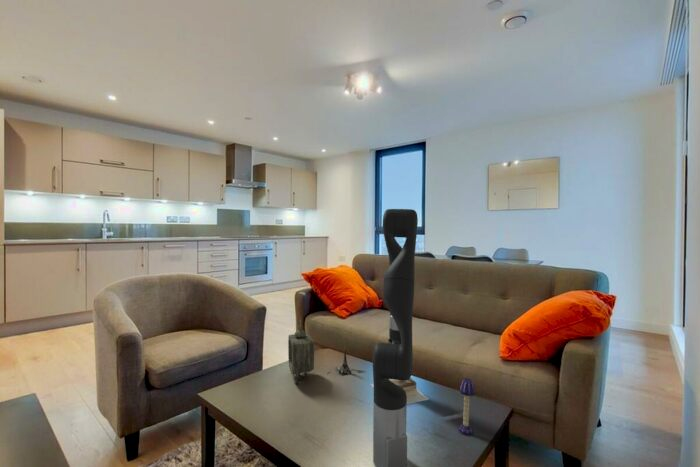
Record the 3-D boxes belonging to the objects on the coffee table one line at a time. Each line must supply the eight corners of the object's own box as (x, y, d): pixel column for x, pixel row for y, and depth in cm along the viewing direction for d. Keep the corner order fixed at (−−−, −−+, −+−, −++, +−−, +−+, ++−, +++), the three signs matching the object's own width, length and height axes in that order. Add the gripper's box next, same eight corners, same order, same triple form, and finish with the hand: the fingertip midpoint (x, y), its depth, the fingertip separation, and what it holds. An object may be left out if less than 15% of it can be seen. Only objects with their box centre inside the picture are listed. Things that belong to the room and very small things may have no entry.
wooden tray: (416, 395, 128) (416, 382, 128) (392, 400, 125) (393, 387, 125) (403, 383, 138) (403, 371, 137) (381, 387, 134) (381, 375, 134)
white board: (428, 402, 126) (428, 399, 126) (390, 410, 120) (390, 407, 120) (405, 380, 142) (405, 378, 142) (370, 386, 137) (370, 384, 137)
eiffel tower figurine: (365, 372, 151) (365, 343, 151) (357, 382, 142) (357, 351, 141) (335, 366, 157) (335, 338, 157) (325, 375, 148) (325, 346, 147)
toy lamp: (462, 424, 112) (462, 375, 111) (476, 430, 109) (477, 379, 108) (456, 431, 108) (457, 380, 107) (471, 437, 105) (471, 385, 104)
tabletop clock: (288, 371, 151) (288, 316, 150) (308, 368, 154) (308, 314, 153) (292, 386, 137) (292, 325, 136) (314, 383, 140) (314, 323, 139)
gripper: (417, 331, 125) (416, 376, 125) (398, 320, 138) (398, 361, 139) (399, 333, 122) (398, 379, 123) (382, 322, 136) (381, 363, 136)
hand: (398, 369), depth 131 cm, fingers closed on beverage cup, 5 cm apart
